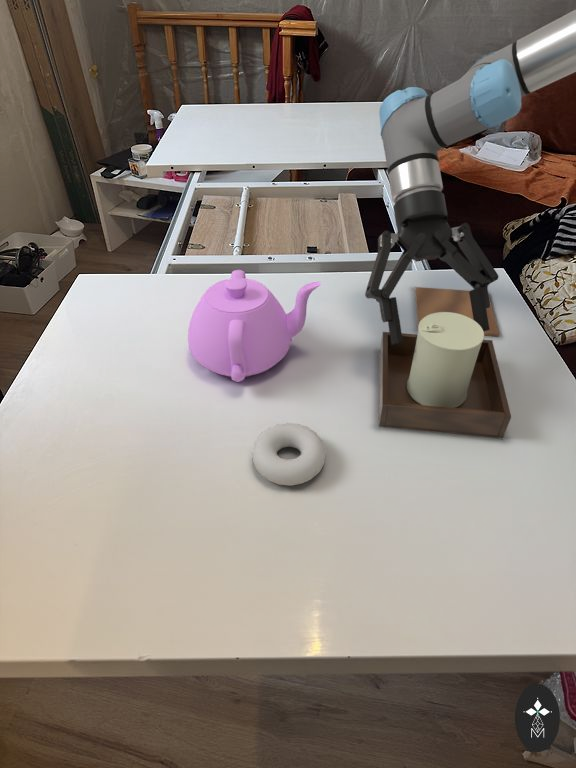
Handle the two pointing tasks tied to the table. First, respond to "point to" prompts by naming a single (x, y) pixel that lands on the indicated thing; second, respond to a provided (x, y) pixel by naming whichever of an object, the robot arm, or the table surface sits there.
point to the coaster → (449, 305)
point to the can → (444, 359)
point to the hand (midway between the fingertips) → (440, 337)
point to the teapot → (244, 326)
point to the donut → (283, 468)
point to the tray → (473, 417)
